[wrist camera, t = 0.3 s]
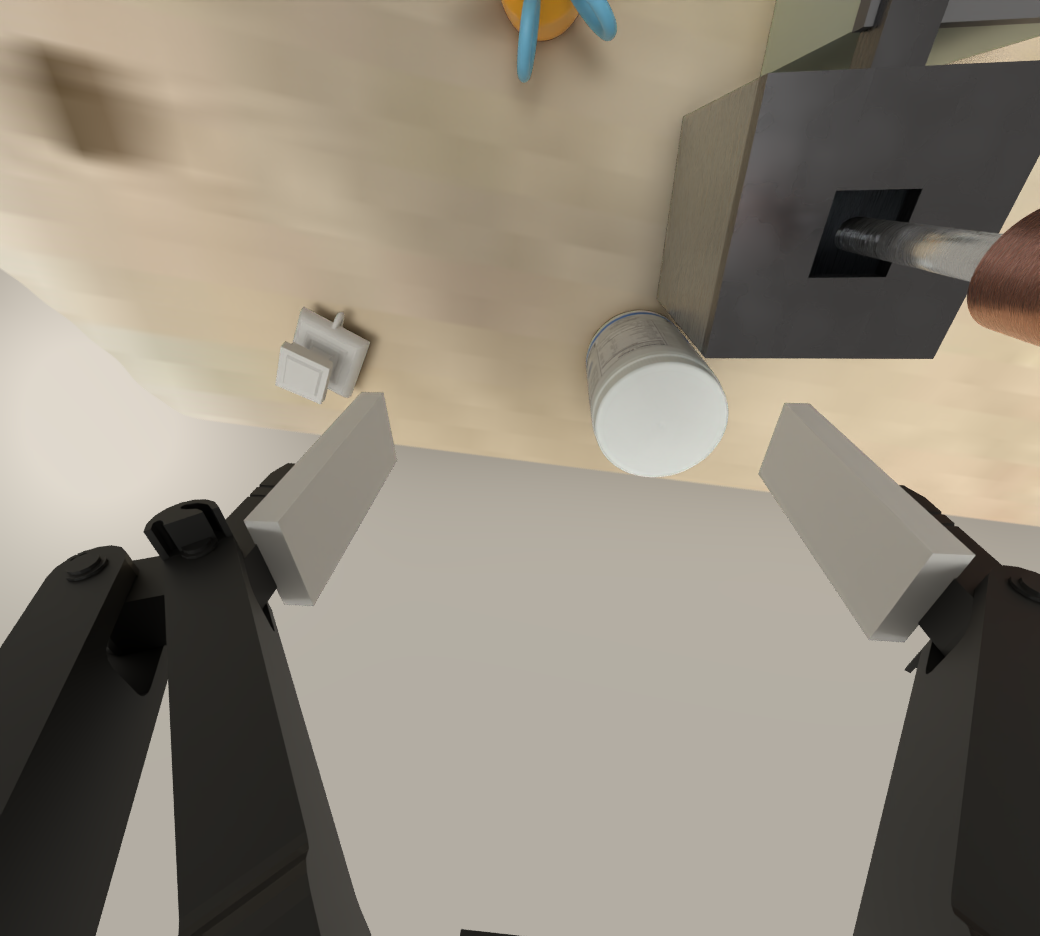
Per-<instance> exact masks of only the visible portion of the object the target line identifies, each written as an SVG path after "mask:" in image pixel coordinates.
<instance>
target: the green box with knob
mask: <svg viewBox="0 0 1040 936" xmlns="http://www.w3.org/2000/svg"><path fill="white" fill-rule="evenodd" d="M880 1H881V0H776V5H775V9H774V14H773V19H772V24H771V28H770V33H769V38H768V42H767V47H766V52H765V56H764V61H763V66H762V70H761V75H760V77H761V76H763V75H765V74H767V73H778V72H800V71H821V70H843V69H850V65H851V62H852V58H853V55H854V52H855V48H856V45H857V42H858V38H859V35H860V32H862V31H864V30H866V29H868V28H870V27H872V26H873V23H874V20H875V17H876V14H877V10H878V7H879V4H880ZM1038 36H1040V0H949V3H948V6H947V8H946V11H945V14H944V16H943V19H942V22H941V25H940V27H939V30H938V33H937V35H936V38H935V41H934V44H933V46H932V49H931V52H930V54H929V57H928V60H927V63H926V65H925V66H930V65H945V64H948V63H952V62H955V61H958V60H962V59H965V58H968V57H972V56H975V55H978V54H982V53H985V52H988V51H992V50H995V49H998V48H1002V47H1005V46H1008V45H1012V44H1015V43H1018V42H1022V41H1025V40H1028V39H1031V38H1035V37H1038Z"/></svg>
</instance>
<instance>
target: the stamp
mask: <svg viewBox="0 0 1040 936" xmlns="http://www.w3.org/2000/svg"><path fill="white" fill-rule="evenodd" d="M344 317H345V315H344V313H343V312H339V313H337V315H336V317H335V319H334V322H332V321H330V320H328V319H326V318H324V317H322V316H320V315H318V314H317V313H315V312H313V311H311V310H309V309H307V308H305V307H303V308H302V309H301V312H300V315H299V319H298V323H297V328H296V332H295V336H294V340H293V343H292V344H290V343H288V342H286V341H285V342H284V343H283V345H282V346H281V349H280V356H279V363H278V370H277V378H276V386H278V387H281V388H283V389H285V390H288V391H290V392H293V393H295V394H297V395H300V396H302V397H304V398H307V399H309V400H311V401H314V402H316V403H318V404H321V403H322V402H323V401H324V400H325V397H326V393H327V389H329V390H331V391H333V392H335V393H337V394H339V395H341V396H343V397H347V398H349V397H350V396H351V395H352V392H353V390H354V387H355V384H356V381H357V378H358V375H359V373H360V370H361V367H362V364H363V361H364V359H365V356H366V353H367V350H368V347H369V345H370V342H369V341H367V340H365V339H363V338H361V337H360V336H358V335H356V334H354V333H352V332H350V331H348V330H346V329H345V328H343V322H344Z"/></svg>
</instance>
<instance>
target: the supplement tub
mask: <svg viewBox="0 0 1040 936" xmlns="http://www.w3.org/2000/svg"><path fill="white" fill-rule="evenodd" d="M586 372H587V382H588V392H589V401H590V410H591V418H592V425H593V430H594V434H595V436H596V439H597V442H598V445H599V447H600V449H601V451H602V452H603V454H604V455H605V457H606V458H607V459H608V460H609V461H610V462H611V463H612V464H614V465H615V466H616V467H618V468H620V469H621V470H623V471H625V472H627V473H630V474H633V475H637V476H642V477H664V476H670V475H674V474H678V473H680V472H683V471H685V470H688V469H690V468H692V467H693V466H695V465H697V464H698V463H700V462H701V461H702V460H704V459H705V458H706V457H707V456H708V455H709V454H710V453H711V452H712V451H713V450H714V449H715V447H716V446H717V445H718V443H719V442H720V440H721V438H722V436H723V434H724V432H725V429H726V426H727V421H728V403H727V399H726V396H725V393H724V391H723V389H722V387H721V384H720V382H719V380H718V379H717V377H716V376H715V375H714V373H713V372H712V370H711V369H710V368H709V367H708V365H707V364H706V363H705V362H704V360H703V359H702V358H701V357H700V356H699V354H698V353H697V352H696V351H695V349H694V348H693V347H692V346H691V344H690V343H689V342H688V341H687V339H686V338H685V337H684V336H683V334H682V333H681V332H680V331H679V329H678V328H677V327H676V326H675V325H674V324H673V323H672V322H671V321H670V320H669V319H667V318H666V317H664V316H663V315H661V314H658V313H655V312H651V311H645V310H636V311H629V312H626V313H622V314H620V315H618V316H616V317H614V318H612V319H611V320H609V321H608V322H606V323H605V324H604V325H603V326H602V327H601V328H600V329H599V330H598V331H597V333H596V334H595V335H594V337H593V339H592V341H591V343H590V345H589V348H588V351H587V356H586Z"/></svg>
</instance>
